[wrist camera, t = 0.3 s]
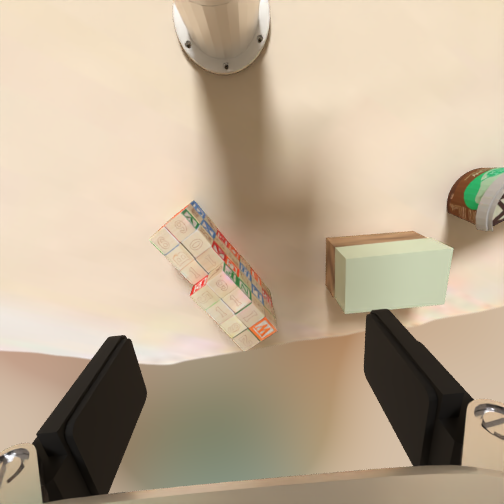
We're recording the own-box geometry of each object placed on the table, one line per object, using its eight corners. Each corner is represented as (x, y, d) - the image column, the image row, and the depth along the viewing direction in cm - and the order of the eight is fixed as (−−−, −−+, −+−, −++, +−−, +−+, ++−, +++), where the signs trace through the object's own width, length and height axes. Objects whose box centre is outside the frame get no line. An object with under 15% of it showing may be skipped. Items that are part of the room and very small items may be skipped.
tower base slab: (325, 237, 48) (334, 246, 43) (411, 230, 48) (429, 239, 43) (324, 283, 51) (333, 297, 46) (405, 277, 51) (422, 290, 46)
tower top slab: (335, 247, 43) (346, 259, 38) (430, 237, 43) (453, 248, 38) (334, 297, 46) (344, 314, 42) (423, 288, 46) (444, 304, 41)
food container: (505, 144, 43) (578, 142, 33) (513, 180, 45) (584, 187, 35) (429, 184, 45) (478, 193, 35) (439, 216, 47) (488, 233, 37)
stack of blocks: (165, 222, 46) (139, 246, 34) (194, 199, 45) (176, 216, 33) (244, 309, 52) (244, 354, 41) (271, 291, 51) (278, 332, 39)
